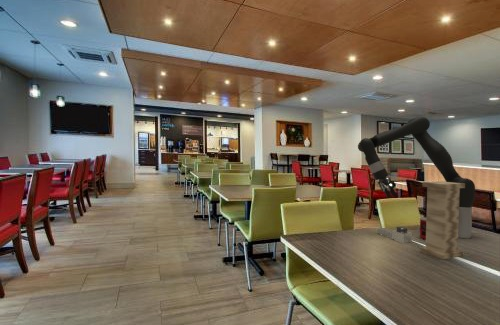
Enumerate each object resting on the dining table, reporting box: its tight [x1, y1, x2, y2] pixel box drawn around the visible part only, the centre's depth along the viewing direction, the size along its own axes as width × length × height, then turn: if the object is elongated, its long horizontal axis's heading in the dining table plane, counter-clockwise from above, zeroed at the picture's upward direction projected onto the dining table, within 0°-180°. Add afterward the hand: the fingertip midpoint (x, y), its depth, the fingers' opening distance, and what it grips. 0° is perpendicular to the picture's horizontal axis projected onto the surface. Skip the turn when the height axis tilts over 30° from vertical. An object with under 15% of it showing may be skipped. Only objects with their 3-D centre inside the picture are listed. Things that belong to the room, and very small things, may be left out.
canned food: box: [419, 216, 427, 241], centre depth 148 cm, size 8×8×11 cm
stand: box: [419, 181, 465, 261], centre depth 125 cm, size 14×10×33 cm
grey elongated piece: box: [377, 226, 413, 244], centre depth 149 cm, size 6×18×7 cm, turn 22°
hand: (392, 196), depth 152 cm, fingers open, 8 cm apart
